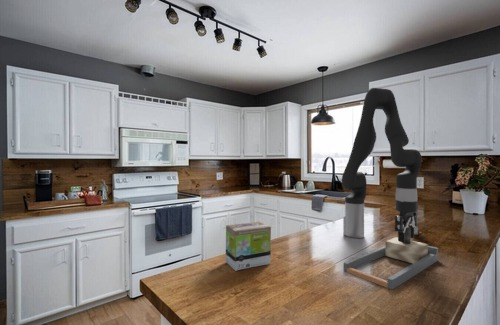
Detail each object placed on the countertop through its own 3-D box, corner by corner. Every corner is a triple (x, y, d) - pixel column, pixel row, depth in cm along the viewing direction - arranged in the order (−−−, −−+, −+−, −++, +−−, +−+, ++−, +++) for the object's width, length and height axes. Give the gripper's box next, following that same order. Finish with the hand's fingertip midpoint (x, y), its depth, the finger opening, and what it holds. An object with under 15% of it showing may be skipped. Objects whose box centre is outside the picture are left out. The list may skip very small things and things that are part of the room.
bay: (343, 270, 94) (343, 257, 94) (393, 248, 117) (393, 237, 117) (392, 289, 81) (392, 273, 80) (437, 260, 103) (438, 247, 103)
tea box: (235, 272, 94) (235, 231, 94) (225, 262, 103) (224, 224, 102) (271, 264, 101) (271, 225, 100) (258, 255, 110) (258, 220, 109)
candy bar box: (400, 228, 149) (400, 200, 149) (409, 229, 148) (410, 200, 148) (407, 234, 138) (408, 203, 138) (418, 234, 137) (418, 203, 137)
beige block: (385, 255, 107) (385, 226, 107) (395, 250, 113) (395, 223, 113) (418, 265, 98) (418, 233, 98) (427, 259, 103) (427, 229, 103)
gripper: (404, 196, 112) (404, 234, 112) (388, 199, 104) (388, 240, 104) (424, 198, 106) (424, 238, 106) (408, 202, 98) (408, 245, 98)
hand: (406, 239), depth 105 cm, fingers open, 8 cm apart
